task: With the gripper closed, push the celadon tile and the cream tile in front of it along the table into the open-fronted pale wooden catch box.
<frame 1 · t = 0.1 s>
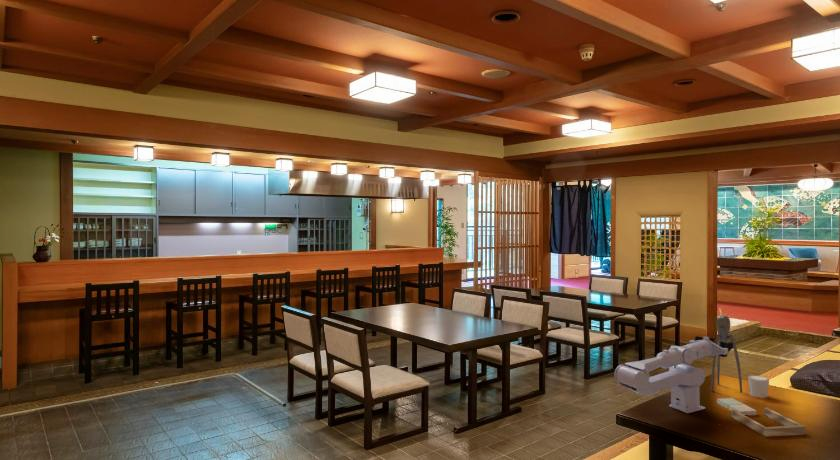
hand: (722, 342, 195), 22 cm above the table, tool horizontal, fingers open, 7 cm apart
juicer: (722, 388, 207), on the table
cream tile: (742, 413, 182), on the table
catch box: (765, 424, 171), on the table
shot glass: (758, 396, 197), on the table
celadon tile: (730, 406, 188), on the table
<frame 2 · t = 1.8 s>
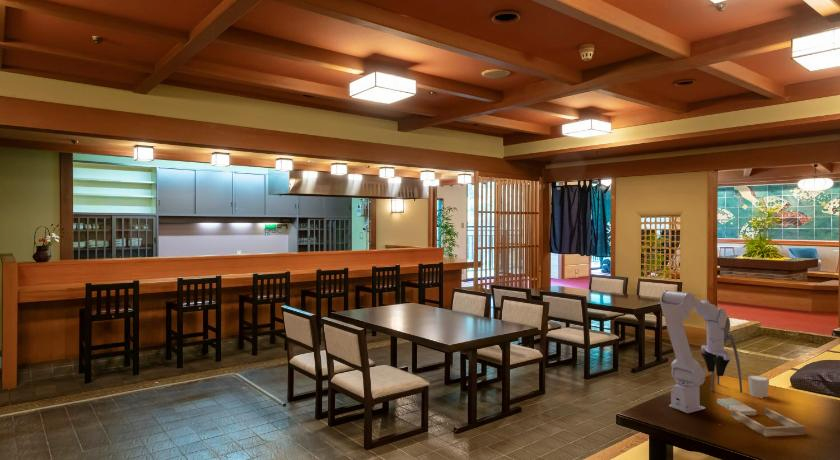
hand: (715, 373, 196), 9 cm above the table, tool pointing down, fingers open, 5 cm apart
nothing on the table moved.
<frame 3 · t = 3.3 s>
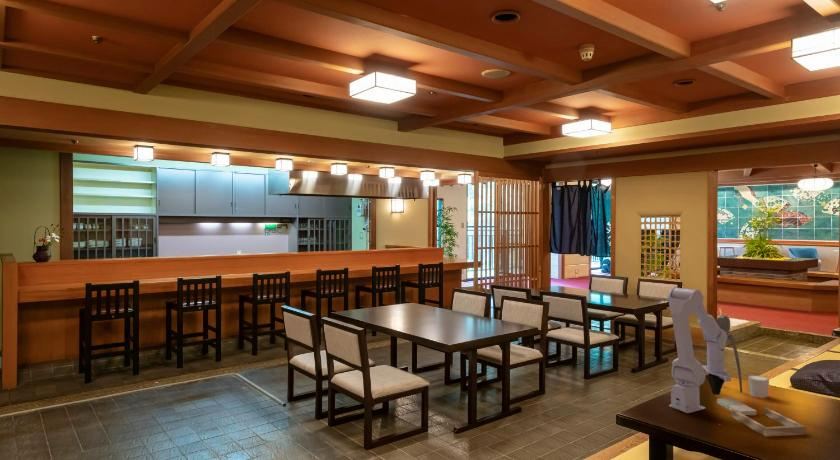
hand: (715, 394, 196), 1 cm above the table, tool pointing down, fingers closed
nothing on the table moved.
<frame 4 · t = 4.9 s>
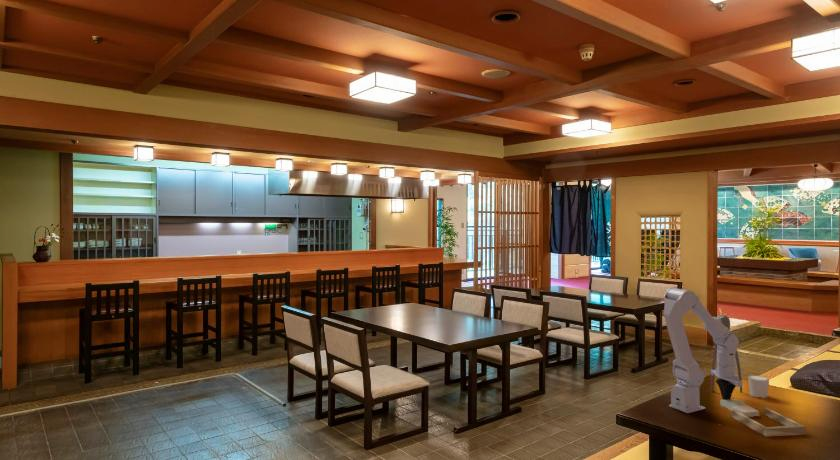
hand: (726, 399, 190), 1 cm above the table, tool pointing down, fingers closed
cream tile: (744, 414, 180), on the table
celadon tile: (733, 407, 186), on the table
everything else where it was.
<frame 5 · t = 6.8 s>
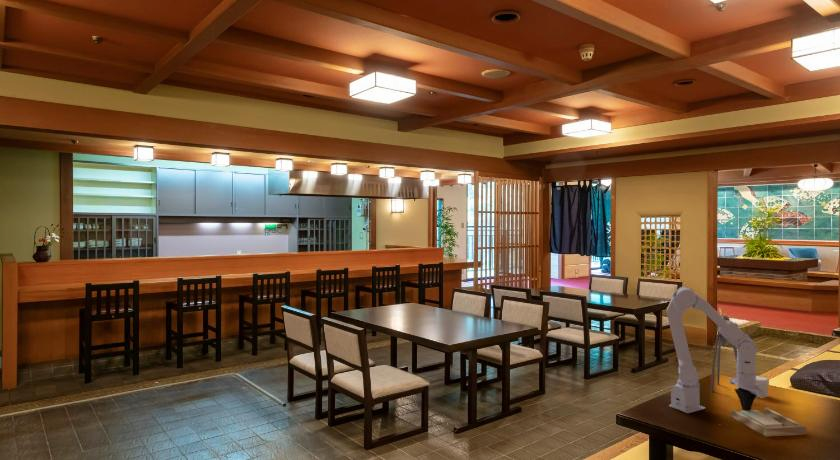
hand: (746, 410, 180), 1 cm above the table, tool pointing down, fingers closed
cream tile: (766, 426, 170), on the table, touching celadon tile
celadon tile: (754, 419, 176), on the table, touching cream tile, gripper
everything else where it was.
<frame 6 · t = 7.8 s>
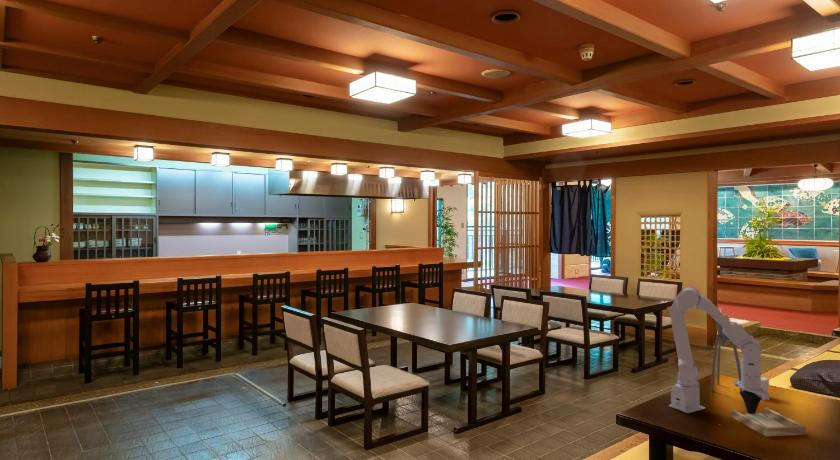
hand: (751, 413, 177), 1 cm above the table, tool pointing down, fingers closed
cream tile: (772, 430, 168), on the table
celadon tile: (759, 422, 174), on the table
everything else where it was.
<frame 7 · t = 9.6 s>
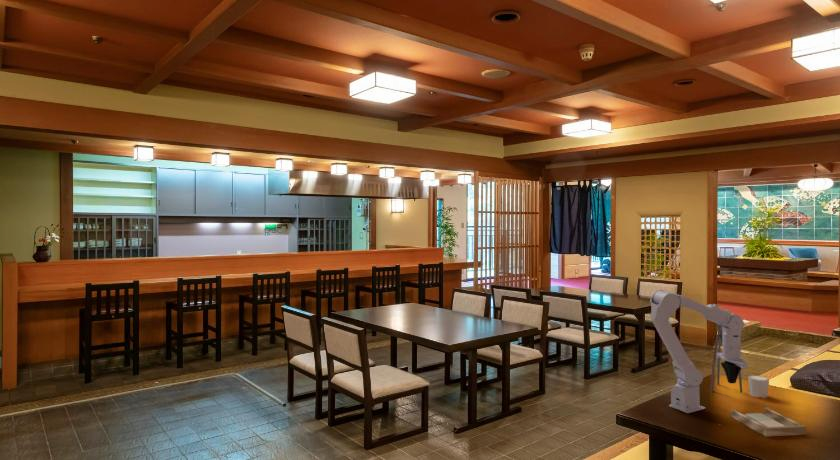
hand: (731, 382, 187), 9 cm above the table, tool pointing down, fingers closed
nothing on the table moved.
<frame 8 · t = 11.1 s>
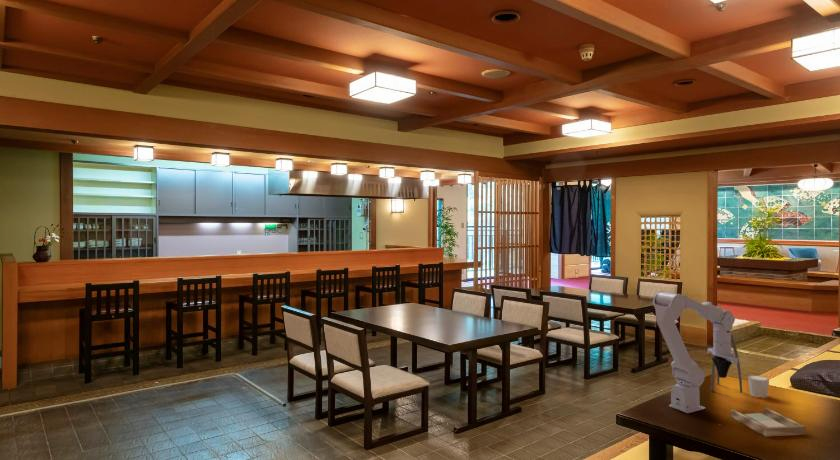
hand: (722, 377, 192), 9 cm above the table, tool pointing down, fingers closed
nothing on the table moved.
at the end: cream tile 3.3 cm from the catch box (horizontally); celadon tile 2.7 cm from the catch box (horizontally); celadon tile tilted 0° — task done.
